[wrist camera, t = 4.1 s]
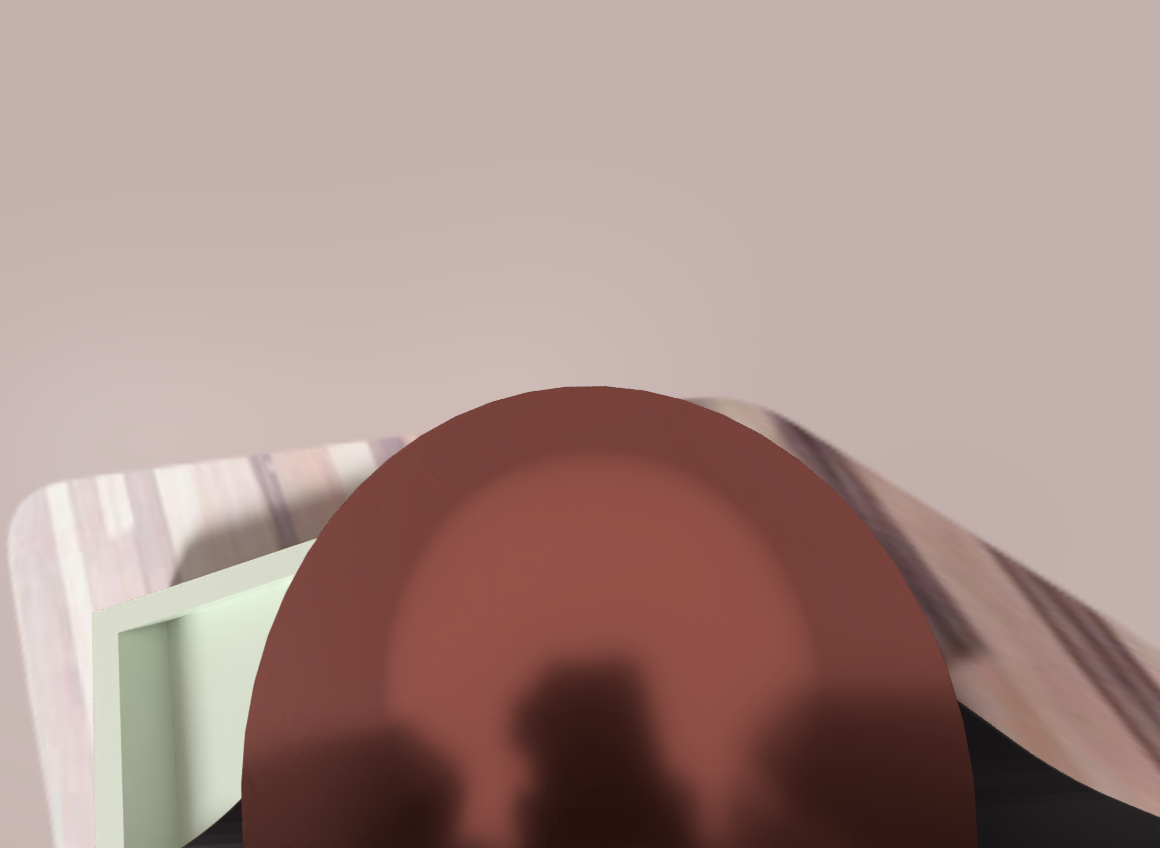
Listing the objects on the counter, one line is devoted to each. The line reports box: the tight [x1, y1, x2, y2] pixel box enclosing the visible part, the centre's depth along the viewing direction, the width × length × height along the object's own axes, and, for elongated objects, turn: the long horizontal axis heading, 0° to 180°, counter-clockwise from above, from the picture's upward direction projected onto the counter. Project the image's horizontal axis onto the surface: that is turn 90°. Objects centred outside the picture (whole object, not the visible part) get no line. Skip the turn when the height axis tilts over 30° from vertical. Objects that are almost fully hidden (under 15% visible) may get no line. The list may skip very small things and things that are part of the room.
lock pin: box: [241, 386, 978, 848], centre depth 9 cm, size 5×5×13 cm
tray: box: [92, 538, 317, 848], centre depth 15 cm, size 11×11×2 cm
